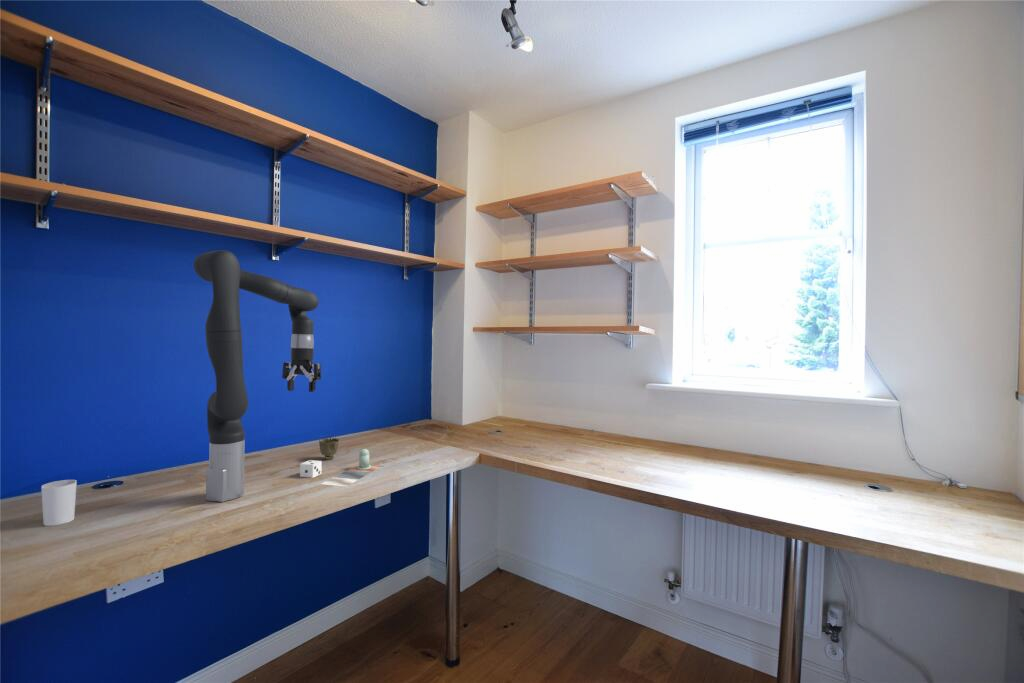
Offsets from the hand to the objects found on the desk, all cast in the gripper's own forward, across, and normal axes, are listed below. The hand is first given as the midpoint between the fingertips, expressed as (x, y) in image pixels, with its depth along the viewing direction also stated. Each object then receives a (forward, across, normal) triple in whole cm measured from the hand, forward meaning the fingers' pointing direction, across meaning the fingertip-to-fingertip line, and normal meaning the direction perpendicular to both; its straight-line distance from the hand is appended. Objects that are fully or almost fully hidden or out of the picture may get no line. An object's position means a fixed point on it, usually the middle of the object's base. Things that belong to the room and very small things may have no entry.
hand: (301, 391), depth 162 cm
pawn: (+29, +20, +10) cm, 37 cm away
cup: (+30, -1, +19) cm, 36 cm away
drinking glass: (+31, -33, -52) cm, 69 cm away
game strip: (+30, +20, +2) cm, 36 cm away
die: (+30, +6, -2) cm, 31 cm away
